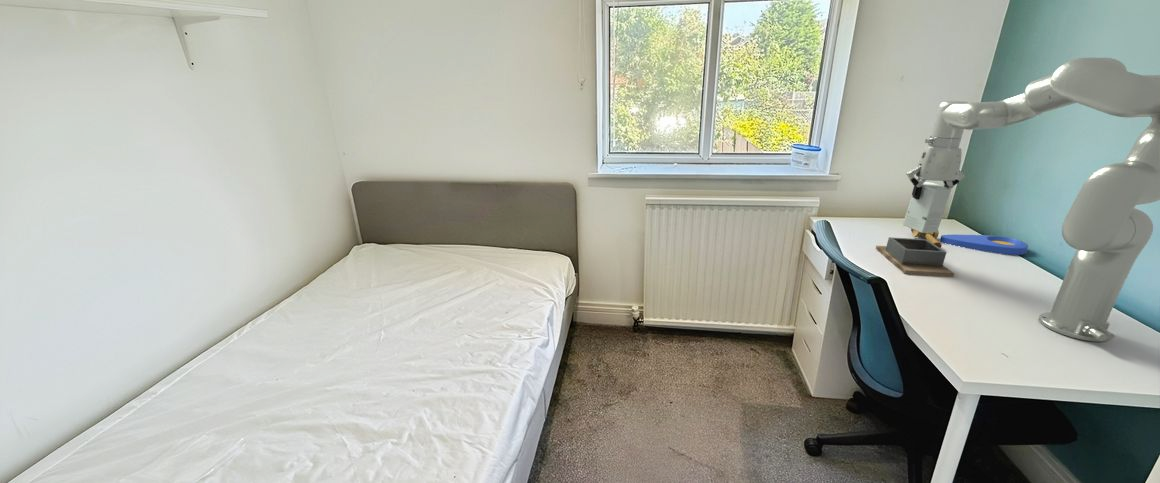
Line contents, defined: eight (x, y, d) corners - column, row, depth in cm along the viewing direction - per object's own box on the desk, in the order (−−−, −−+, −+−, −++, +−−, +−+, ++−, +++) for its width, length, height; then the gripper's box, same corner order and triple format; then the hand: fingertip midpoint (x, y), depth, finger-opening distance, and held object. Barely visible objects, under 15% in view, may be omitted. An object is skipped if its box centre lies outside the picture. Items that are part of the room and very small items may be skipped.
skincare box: (902, 225, 156) (913, 182, 151) (918, 224, 157) (929, 181, 152) (923, 233, 149) (935, 188, 143) (939, 232, 150) (952, 187, 144)
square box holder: (953, 276, 146) (959, 258, 144) (904, 273, 148) (909, 255, 146) (918, 251, 166) (922, 234, 164) (875, 248, 168) (879, 232, 166)
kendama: (949, 253, 168) (928, 231, 183) (951, 238, 165) (930, 216, 180) (923, 255, 170) (905, 232, 185) (925, 240, 167) (907, 218, 182)
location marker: (944, 249, 170) (1032, 258, 160) (946, 240, 169) (1035, 249, 159) (934, 237, 181) (1016, 245, 172) (937, 229, 180) (1019, 236, 171)
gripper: (919, 144, 141) (904, 200, 147) (983, 145, 138) (966, 203, 145) (907, 140, 148) (893, 194, 154) (968, 141, 145) (952, 197, 151)
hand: (928, 198), depth 149 cm, fingers closed on skincare box, 7 cm apart
